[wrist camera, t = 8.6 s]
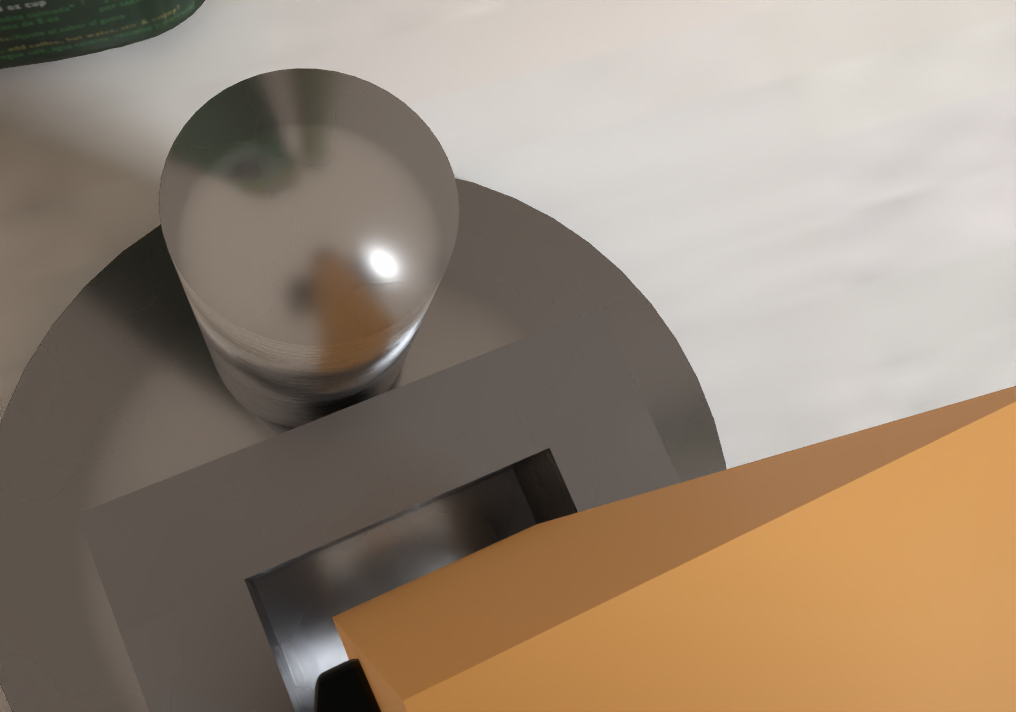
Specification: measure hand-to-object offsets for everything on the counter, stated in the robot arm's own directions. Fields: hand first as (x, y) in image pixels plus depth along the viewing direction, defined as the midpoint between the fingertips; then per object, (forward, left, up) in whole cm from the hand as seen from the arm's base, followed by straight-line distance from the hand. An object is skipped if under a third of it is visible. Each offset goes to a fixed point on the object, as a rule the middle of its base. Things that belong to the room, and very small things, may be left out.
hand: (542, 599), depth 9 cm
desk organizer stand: (+1, +1, -11) cm, 11 cm away
